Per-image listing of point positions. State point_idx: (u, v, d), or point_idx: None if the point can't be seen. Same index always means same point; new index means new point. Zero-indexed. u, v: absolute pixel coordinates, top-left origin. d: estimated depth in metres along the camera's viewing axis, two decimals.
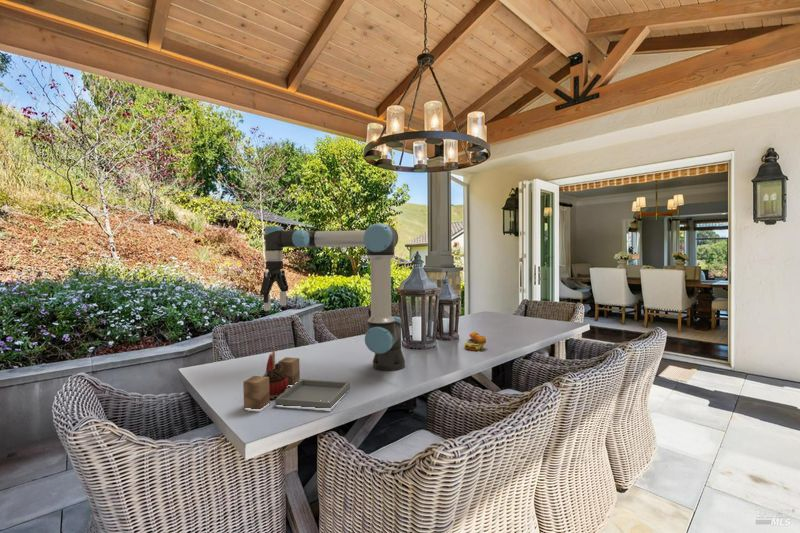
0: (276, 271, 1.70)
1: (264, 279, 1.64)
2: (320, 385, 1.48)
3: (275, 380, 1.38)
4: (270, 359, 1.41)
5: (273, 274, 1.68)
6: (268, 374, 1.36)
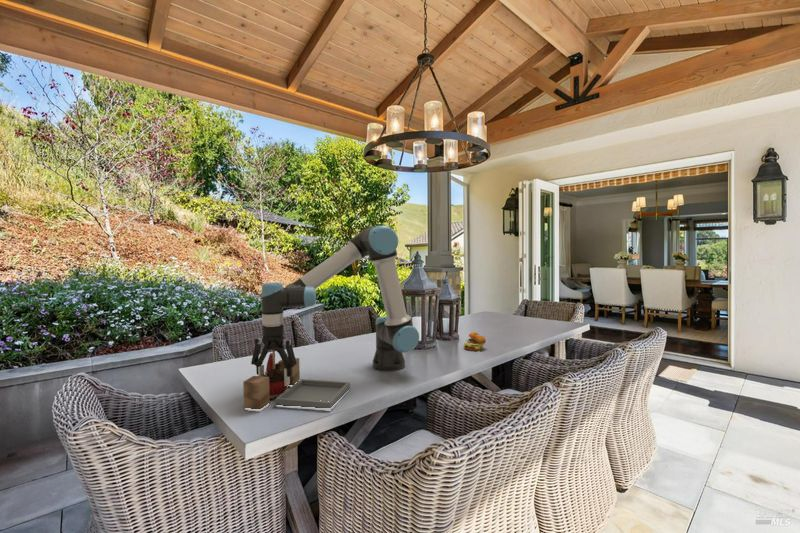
0: (271, 338, 1.40)
1: None
2: (320, 385, 1.48)
3: (275, 380, 1.38)
4: (270, 359, 1.41)
5: (264, 340, 1.41)
6: (268, 374, 1.36)
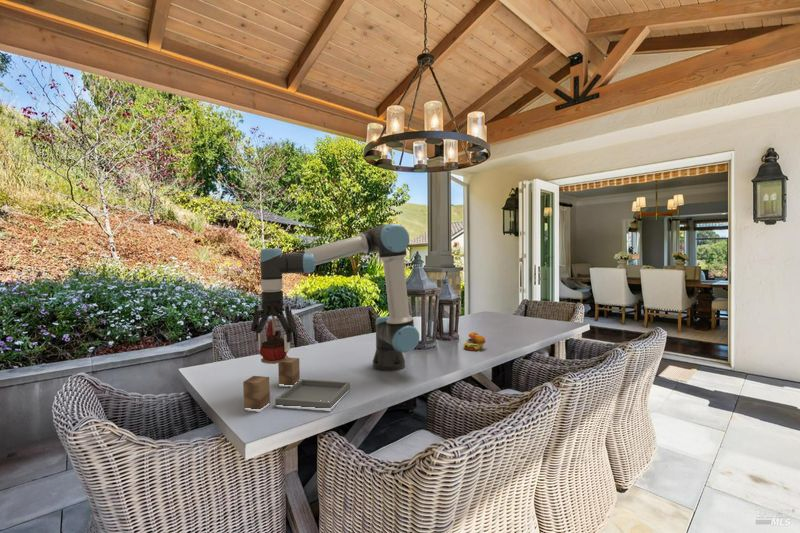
0: (270, 304, 1.39)
1: None
2: (320, 385, 1.48)
3: (275, 345, 1.38)
4: (270, 325, 1.41)
5: (264, 307, 1.40)
6: (268, 339, 1.36)
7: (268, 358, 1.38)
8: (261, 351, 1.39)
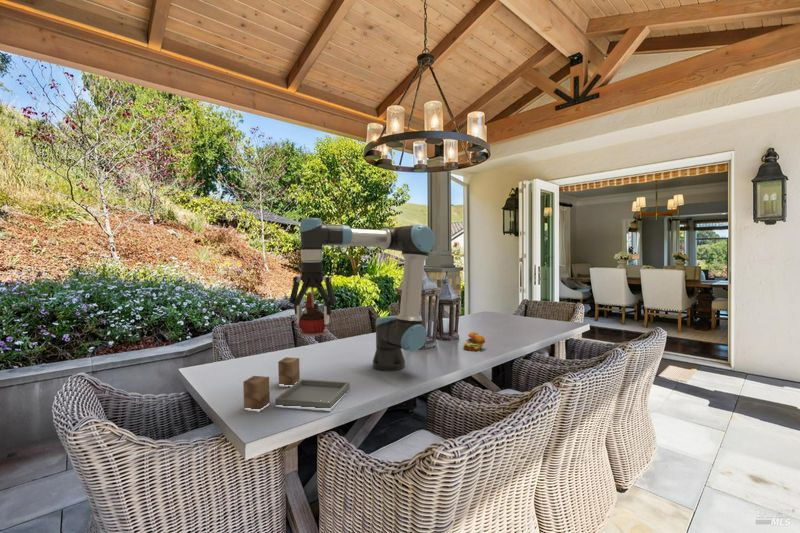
0: (310, 275, 1.36)
1: None
2: (320, 385, 1.48)
3: (315, 318, 1.34)
4: (309, 297, 1.37)
5: (303, 278, 1.36)
6: (308, 310, 1.32)
7: (308, 330, 1.34)
8: (300, 323, 1.35)
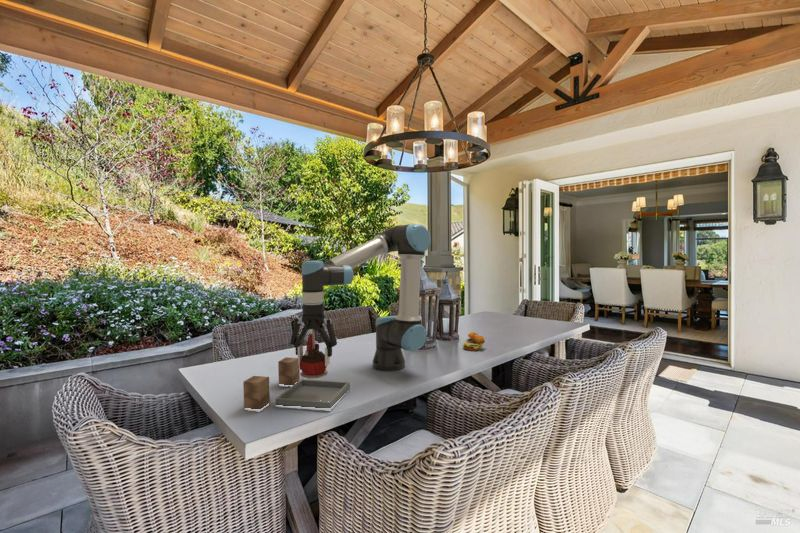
0: (311, 317, 1.36)
1: None
2: (320, 385, 1.48)
3: (316, 360, 1.35)
4: (310, 339, 1.38)
5: (304, 320, 1.37)
6: (309, 353, 1.33)
7: (308, 373, 1.34)
8: (301, 365, 1.36)
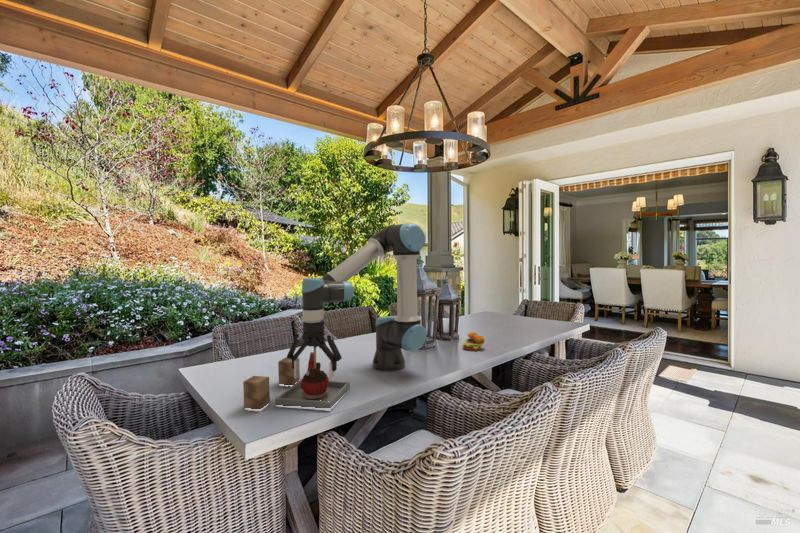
0: (311, 334, 1.37)
1: None
2: None
3: (317, 380, 1.35)
4: (311, 358, 1.38)
5: (305, 337, 1.37)
6: (310, 374, 1.33)
7: (310, 393, 1.35)
8: (302, 385, 1.36)
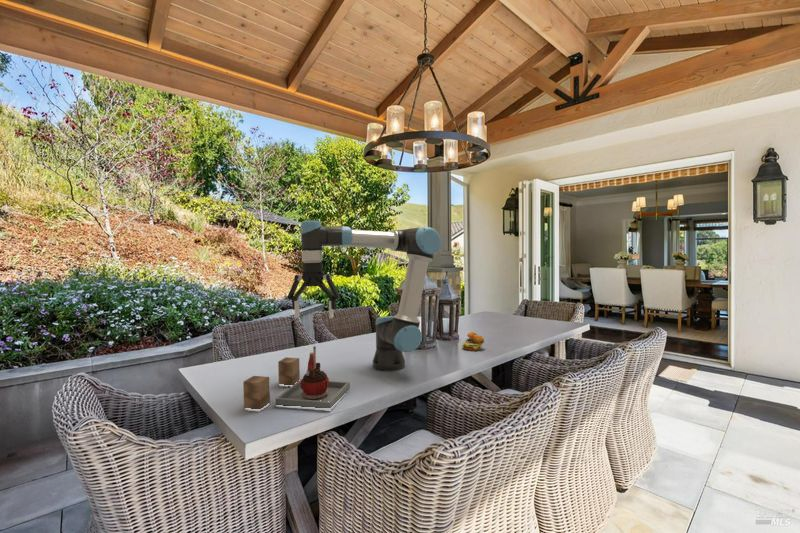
0: (311, 275, 1.43)
1: None
2: None
3: (317, 380, 1.35)
4: (311, 358, 1.38)
5: (304, 278, 1.44)
6: (310, 374, 1.33)
7: (309, 393, 1.35)
8: (302, 385, 1.36)
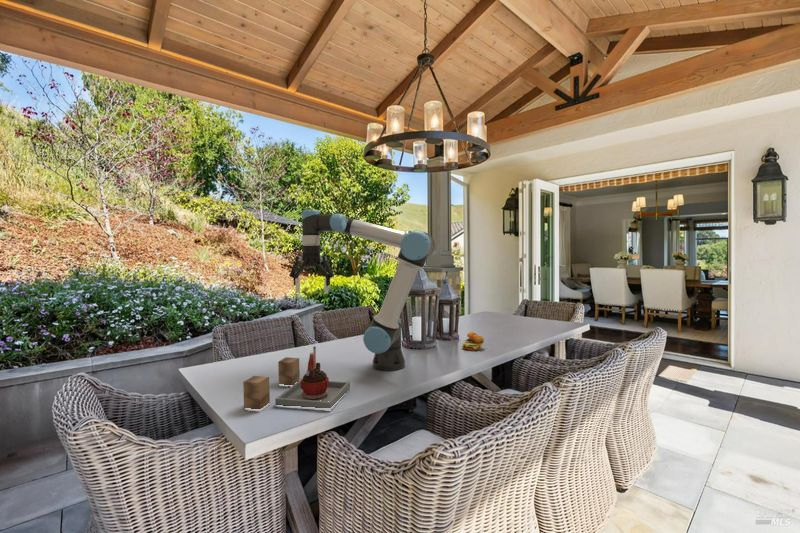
0: (309, 256, 1.68)
1: None
2: None
3: (317, 380, 1.35)
4: (311, 358, 1.38)
5: (304, 259, 1.68)
6: (310, 374, 1.33)
7: (309, 393, 1.35)
8: (302, 385, 1.36)
